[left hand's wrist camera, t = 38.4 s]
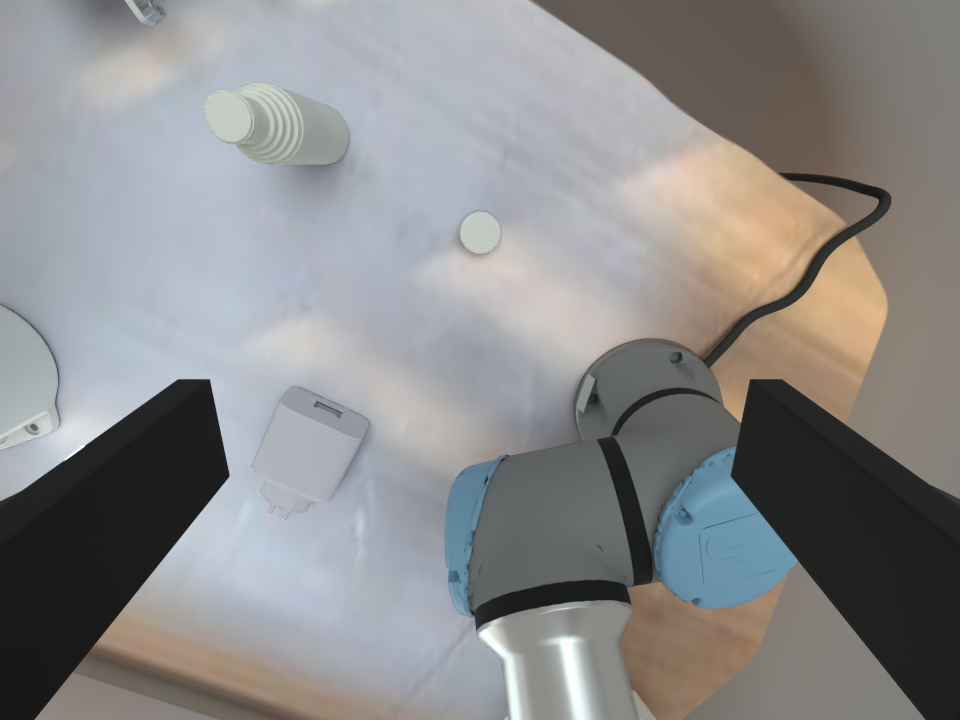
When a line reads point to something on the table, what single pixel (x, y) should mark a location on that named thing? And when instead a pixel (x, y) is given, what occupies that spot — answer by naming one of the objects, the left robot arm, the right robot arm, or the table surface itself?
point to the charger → (306, 450)
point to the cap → (480, 232)
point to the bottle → (277, 125)
